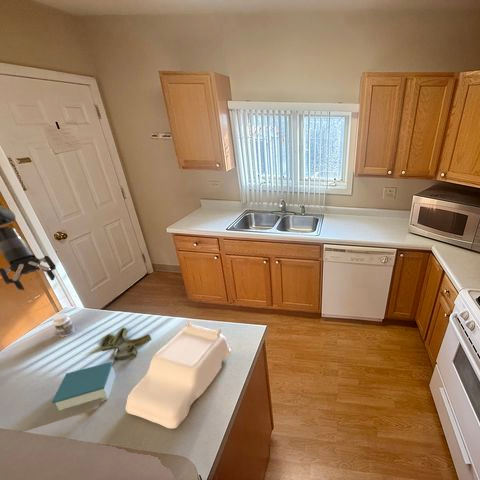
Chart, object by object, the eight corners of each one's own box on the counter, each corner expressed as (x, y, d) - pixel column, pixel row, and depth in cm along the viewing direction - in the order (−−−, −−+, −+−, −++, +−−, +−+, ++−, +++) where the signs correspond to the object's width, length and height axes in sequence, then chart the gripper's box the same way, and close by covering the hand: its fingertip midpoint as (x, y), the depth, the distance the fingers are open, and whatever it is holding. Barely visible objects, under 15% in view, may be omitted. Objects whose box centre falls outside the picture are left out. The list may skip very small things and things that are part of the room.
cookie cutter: (155, 339, 102) (154, 336, 102) (128, 363, 92) (126, 359, 91) (121, 329, 107) (119, 326, 106) (90, 351, 96) (89, 347, 95)
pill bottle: (56, 335, 102) (48, 319, 99) (69, 327, 106) (62, 311, 103) (65, 338, 101) (57, 321, 98) (78, 329, 106) (71, 313, 102)
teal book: (59, 415, 75) (51, 401, 73) (72, 386, 83) (66, 373, 81) (109, 399, 80) (103, 387, 77) (117, 373, 88) (112, 361, 86)
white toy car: (235, 352, 98) (231, 325, 93) (176, 434, 72) (166, 403, 66) (193, 341, 103) (187, 314, 97) (122, 414, 76) (109, 383, 71)
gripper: (-13, 253, 94) (11, 289, 93) (40, 241, 105) (62, 272, 105) (-9, 262, 99) (13, 296, 98) (41, 249, 110) (61, 279, 109)
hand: (38, 284), depth 101 cm, fingers open, 8 cm apart
